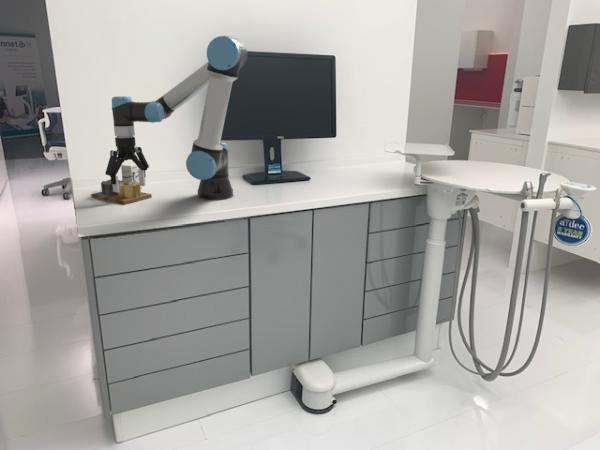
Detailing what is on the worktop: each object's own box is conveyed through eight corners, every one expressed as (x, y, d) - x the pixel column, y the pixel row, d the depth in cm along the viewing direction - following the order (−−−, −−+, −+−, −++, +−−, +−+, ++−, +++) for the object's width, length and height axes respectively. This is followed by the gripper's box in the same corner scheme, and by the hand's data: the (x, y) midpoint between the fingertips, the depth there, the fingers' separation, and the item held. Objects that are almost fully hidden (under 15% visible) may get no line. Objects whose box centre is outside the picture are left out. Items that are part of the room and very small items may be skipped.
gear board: (151, 197, 201) (150, 181, 199) (125, 204, 190) (123, 187, 188) (118, 191, 211) (117, 175, 209) (91, 197, 199) (89, 181, 197)
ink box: (132, 192, 209) (130, 165, 205) (122, 191, 210) (120, 165, 206) (143, 188, 217) (141, 162, 213) (133, 187, 218) (131, 161, 214)
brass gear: (145, 195, 199) (144, 183, 198) (128, 199, 192) (127, 187, 190) (130, 192, 203) (129, 180, 202) (113, 196, 196) (112, 184, 194)
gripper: (142, 132, 202) (146, 182, 209) (91, 139, 182) (98, 193, 188) (155, 134, 199) (158, 184, 205) (105, 140, 178) (111, 196, 184)
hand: (129, 188), depth 197 cm, fingers open, 13 cm apart
